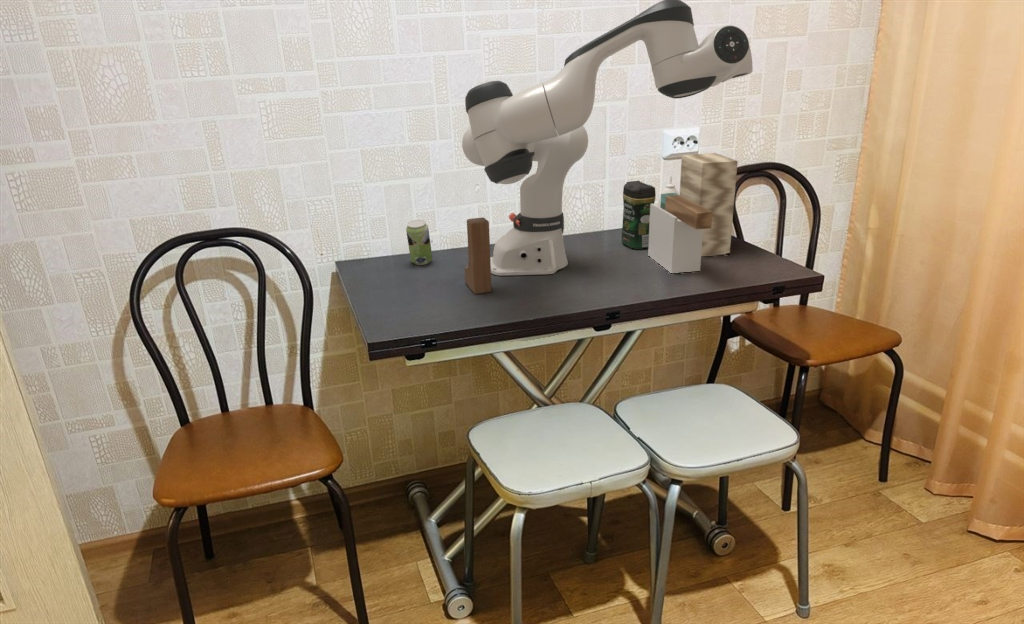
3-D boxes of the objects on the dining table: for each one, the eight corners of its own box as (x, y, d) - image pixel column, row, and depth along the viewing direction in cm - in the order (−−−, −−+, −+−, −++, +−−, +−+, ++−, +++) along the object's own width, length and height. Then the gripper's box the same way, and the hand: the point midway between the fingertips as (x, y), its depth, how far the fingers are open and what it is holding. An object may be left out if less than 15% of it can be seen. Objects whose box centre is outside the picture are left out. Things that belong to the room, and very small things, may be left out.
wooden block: (465, 283, 191) (461, 214, 184) (481, 281, 192) (479, 212, 186) (474, 294, 183) (471, 223, 177) (492, 292, 184) (489, 221, 178)
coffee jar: (617, 242, 221) (618, 180, 214) (640, 239, 224) (643, 177, 217) (633, 251, 213) (635, 186, 206) (657, 248, 215) (660, 184, 208)
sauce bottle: (686, 235, 227) (690, 176, 220) (667, 239, 223) (670, 179, 216) (668, 229, 233) (671, 172, 226) (649, 233, 229) (652, 175, 223)
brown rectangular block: (695, 229, 181) (697, 213, 180) (660, 208, 201) (661, 193, 200) (711, 228, 182) (712, 212, 181) (674, 207, 202) (675, 192, 201)
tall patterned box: (695, 258, 206) (702, 163, 196) (676, 245, 218) (681, 155, 208) (729, 254, 208) (737, 161, 198) (708, 242, 220) (715, 152, 210)
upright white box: (671, 274, 194) (674, 217, 188) (648, 256, 208) (650, 203, 203) (700, 271, 195) (704, 215, 190) (674, 254, 210) (678, 201, 204)
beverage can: (434, 259, 210) (431, 217, 206) (429, 267, 204) (426, 224, 199) (412, 259, 211) (409, 217, 207) (406, 267, 204) (403, 224, 200)
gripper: (662, 88, 155) (650, 100, 169) (760, 70, 155) (740, 84, 169) (658, 57, 155) (646, 72, 169) (756, 40, 154) (736, 56, 168)
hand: (694, 78), depth 169 cm, fingers open, 8 cm apart
